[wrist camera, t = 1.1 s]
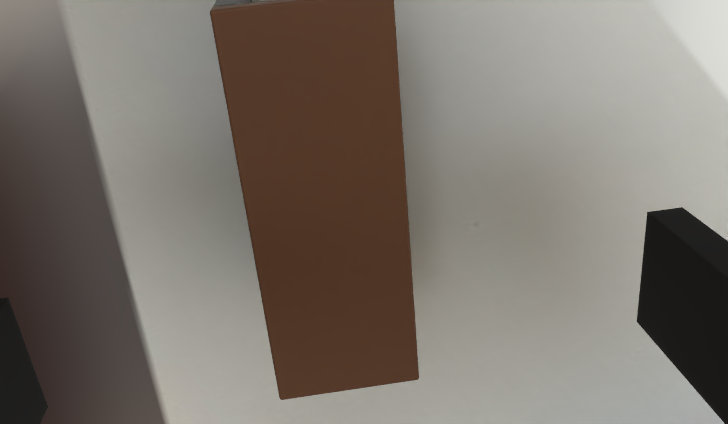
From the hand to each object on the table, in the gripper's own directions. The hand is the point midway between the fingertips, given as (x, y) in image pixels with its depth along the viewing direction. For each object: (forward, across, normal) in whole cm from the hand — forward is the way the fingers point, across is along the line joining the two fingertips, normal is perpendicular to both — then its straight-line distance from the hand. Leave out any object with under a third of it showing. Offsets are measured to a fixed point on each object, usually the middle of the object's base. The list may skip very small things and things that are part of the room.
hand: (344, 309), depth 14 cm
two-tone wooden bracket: (+10, 0, 0) cm, 10 cm away
